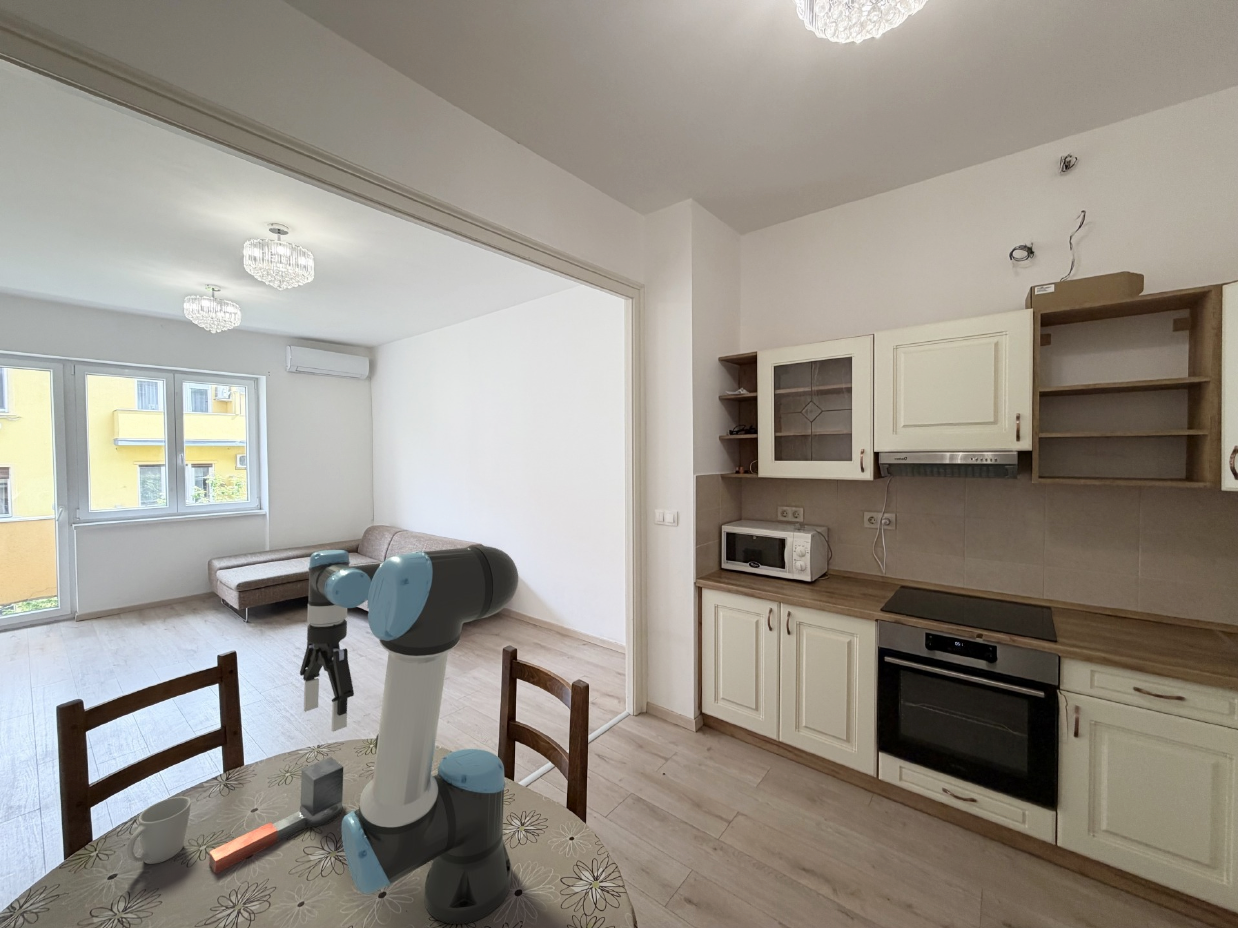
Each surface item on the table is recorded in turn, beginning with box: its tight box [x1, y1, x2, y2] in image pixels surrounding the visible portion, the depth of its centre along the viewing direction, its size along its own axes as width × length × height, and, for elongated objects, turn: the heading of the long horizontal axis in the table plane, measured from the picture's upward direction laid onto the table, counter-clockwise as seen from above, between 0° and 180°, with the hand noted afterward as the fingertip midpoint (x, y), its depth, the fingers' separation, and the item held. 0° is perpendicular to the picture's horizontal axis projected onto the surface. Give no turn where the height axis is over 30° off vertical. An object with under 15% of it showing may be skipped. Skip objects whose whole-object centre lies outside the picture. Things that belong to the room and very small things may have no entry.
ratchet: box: [208, 801, 343, 875], centre depth 102 cm, size 23×8×8 cm, turn 144°
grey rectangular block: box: [300, 756, 344, 816], centre depth 108 cm, size 6×6×8 cm
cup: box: [126, 796, 192, 865], centre depth 95 cm, size 8×10×8 cm
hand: (324, 718), depth 108 cm, fingers open, 13 cm apart
